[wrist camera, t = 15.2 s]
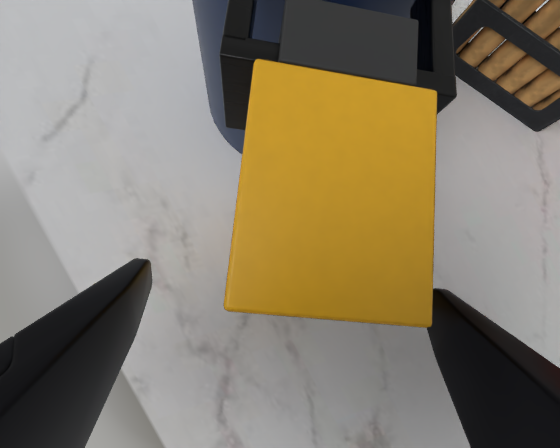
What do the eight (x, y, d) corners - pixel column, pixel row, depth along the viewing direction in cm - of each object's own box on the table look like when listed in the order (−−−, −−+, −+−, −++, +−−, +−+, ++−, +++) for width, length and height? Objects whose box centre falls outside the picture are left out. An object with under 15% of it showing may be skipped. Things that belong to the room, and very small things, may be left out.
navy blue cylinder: (356, 226, 20) (607, 88, 6) (189, 205, 19) (57, -18, 5) (362, 48, 23) (535, -293, 10) (220, 21, 22) (189, -412, 8)
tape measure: (304, 285, 17) (434, 329, 6) (236, 279, 17) (222, 311, 5) (313, 177, 18) (440, 23, 7) (249, 169, 18) (263, -13, 6)
